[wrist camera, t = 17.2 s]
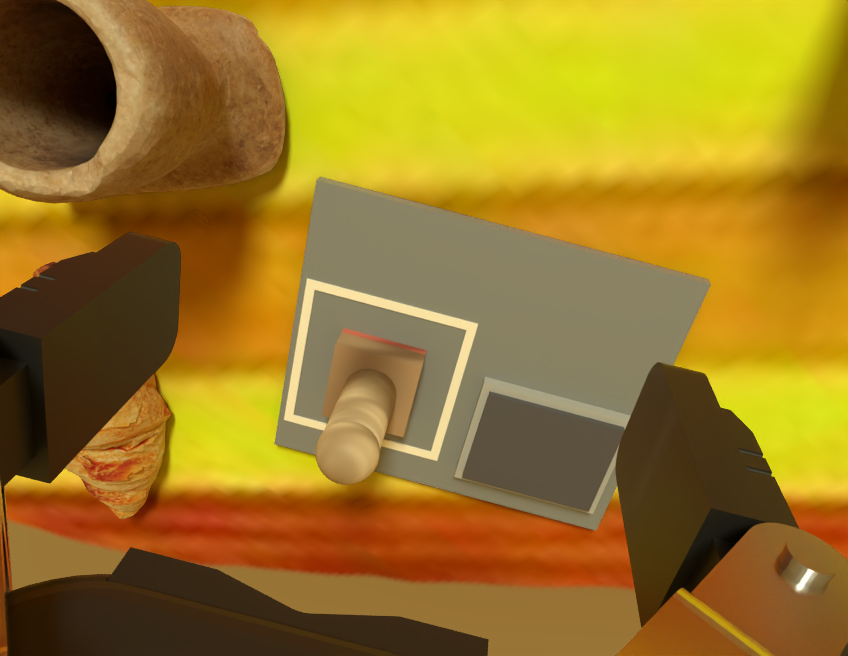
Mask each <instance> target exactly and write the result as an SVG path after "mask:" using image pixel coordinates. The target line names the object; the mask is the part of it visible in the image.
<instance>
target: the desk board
mask: <svg viewBox="0 0 848 656" xmlns="http://www.w3.org/2000/svg"><path fill="white" fill-rule="evenodd" d="M710 285H711V284H710V283H709V281H708V279H705V278H701V277H697V276H693V275H689V274H686V273H682V272H678V271H674V270H671V269H667V268H663V267H659V266H655V265H652V264H648V263H644V262H640V261H637V260H633V259H629V258H625V257H621V256H618V255H614V254H610V253H606V252H602V251H599V250H595V249H591V248H587V247H584V246H580V245H576V244H572V243H568V242H565V241H561V240H557V239H553V238H550V237H546V236H542V235H538V234H534V233H531V232H527V231H523V230H519V229H516V228H512V227H508V226H504V225H500V224H497V223H493V222H489V221H485V220H481V219H478V218H474V217H470V216H466V215H463V214H459V213H455V212H451V211H447V210H444V209H440V208H436V207H432V206H429V205H425V204H421V203H417V202H413V201H410V200H406V199H402V198H398V197H395V196H391V195H387V194H383V193H379V192H376V191H372V190H368V189H364V188H360V187H357V186H353V185H349V184H345V183H342V182H338V181H334V180H330V179H326V178H323V177H319V178H318V179H317V181H316V187H315V193H314V200H313V206H312V212H311V218H310V225H309V231H308V237H307V244H306V250H305V256H304V263H303V269H302V275H301V281H300V288H299V294H298V300H297V307H296V313H295V319H294V325H293V332H292V338H291V344H290V351H289V357H288V363H287V369H286V376H285V382H284V388H283V395H282V401H281V407H280V414H279V420H278V426H277V432H276V439H275V444H276V445H280V446H283V447H287V448H291V449H295V450H298V451H302V452H306V453H309V454H313V455H316V453H315V452H316V445H317V442H318V439H319V437H320V435H321V434H322V432H323V431H324V430H325V428H326V425H327V423H328V421H329V419H330V418H329V417H326V416H322V410H323V405H324V400H325V395H326V390H327V385H328V380H329V375H330V369H331V364H332V359H333V354H334V349H335V344H336V342H337V340H338V338H339V336H340V334H341V332H342V330H343V328H346V329H349V330H353V331H357V332H361V333H364V334H368V335H372V336H376V337H379V338H383V339H387V340H390V341H394V342H398V343H402V344H405V345H409V346H413V347H417V348H420V349H424V350H427V351H426V355H425V358H424V362H423V366H422V370H421V373H420V377H419V381H418V385H417V388H416V392H415V396H414V400H413V403H412V407H411V411H410V414H409V418H408V422H407V426H406V429H405V433H404V437H400V436H396V435H392V434H389V433H385V436H384V439H383V442H382V446H381V449H380V457H379V461H378V464H377V466H376V468H375V470H374V471H376V472H380V473H384V474H387V475H391V476H395V477H399V478H402V479H406V480H410V481H413V482H417V483H421V484H425V485H428V486H432V487H436V488H439V489H443V490H447V491H450V492H454V493H458V494H462V495H465V496H469V497H473V498H476V499H480V500H484V501H488V502H491V503H495V504H499V505H502V506H506V507H510V508H514V509H517V510H521V511H525V512H528V513H532V514H536V515H540V516H543V517H547V518H551V519H554V520H558V521H562V522H566V523H569V524H573V525H577V526H580V527H584V528H588V529H592V530H595V531H596V530H597V528H598V525H599V523H600V521H601V519H602V517H603V515H604V513H605V510H606V508H607V506H608V504H609V502H610V500H611V498H612V495H613V493H614V491H615V489H616V487H617V481H616V473H615V467H616V457H617V452H618V448H619V444H620V441H621V438H622V436H623V433H624V431H625V428H626V426H627V424H628V421H629V419H630V416H631V414H632V412H633V409H634V407H635V404H636V402H637V400H638V397H639V395H640V392H641V390H642V388H643V385H644V383H645V380H646V378H647V376H648V374H649V372H650V370H651V368H652V367H653V366H654V365H655V364H656V363H657V362H660V363H664V364H669V365H673V364H674V362H675V360H676V358H677V356H678V354H679V351H680V349H681V347H682V345H683V343H684V341H685V339H686V336H687V334H688V332H689V330H690V328H691V326H692V324H693V321H694V319H695V317H696V315H697V313H698V311H699V308H700V306H701V304H702V302H703V300H704V298H705V296H706V293H707V291H708V289H709V287H710Z"/></svg>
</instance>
